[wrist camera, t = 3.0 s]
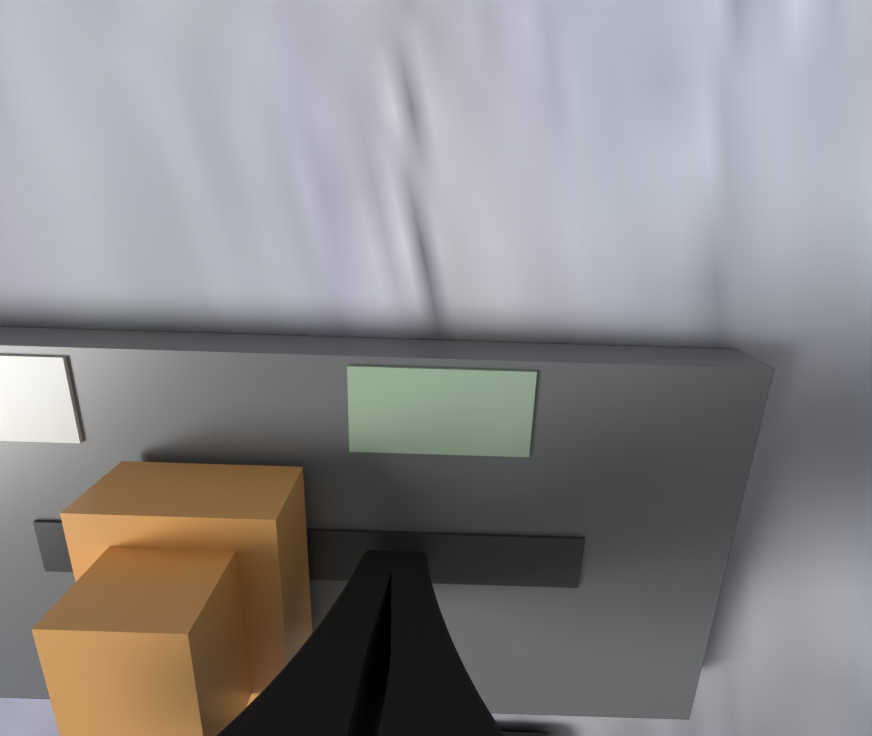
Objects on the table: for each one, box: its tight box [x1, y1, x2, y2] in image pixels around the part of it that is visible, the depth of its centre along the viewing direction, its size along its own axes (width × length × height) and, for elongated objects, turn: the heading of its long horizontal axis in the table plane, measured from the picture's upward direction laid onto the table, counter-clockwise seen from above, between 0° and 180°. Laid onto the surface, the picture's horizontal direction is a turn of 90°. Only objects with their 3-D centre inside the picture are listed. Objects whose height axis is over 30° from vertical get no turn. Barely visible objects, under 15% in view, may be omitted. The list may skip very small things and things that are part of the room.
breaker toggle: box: [32, 461, 312, 736], centre depth 11 cm, size 4×5×4 cm
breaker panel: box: [0, 327, 774, 719], centre depth 13 cm, size 20×10×2 cm, turn 88°
